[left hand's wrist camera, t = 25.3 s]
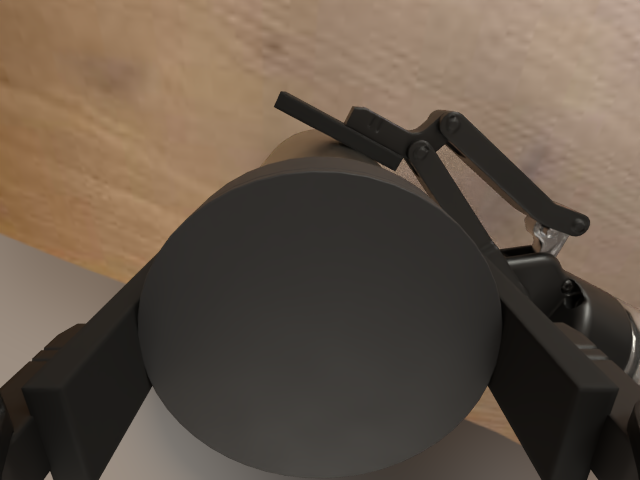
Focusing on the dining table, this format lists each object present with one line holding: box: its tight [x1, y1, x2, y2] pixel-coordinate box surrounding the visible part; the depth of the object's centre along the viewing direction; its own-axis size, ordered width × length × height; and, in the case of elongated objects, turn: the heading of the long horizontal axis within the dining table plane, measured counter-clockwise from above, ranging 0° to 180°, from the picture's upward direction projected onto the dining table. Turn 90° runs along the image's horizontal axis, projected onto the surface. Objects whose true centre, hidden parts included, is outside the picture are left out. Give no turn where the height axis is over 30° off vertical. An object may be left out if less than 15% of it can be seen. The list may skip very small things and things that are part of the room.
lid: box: [138, 157, 502, 478], centre depth 11 cm, size 10×10×2 cm
